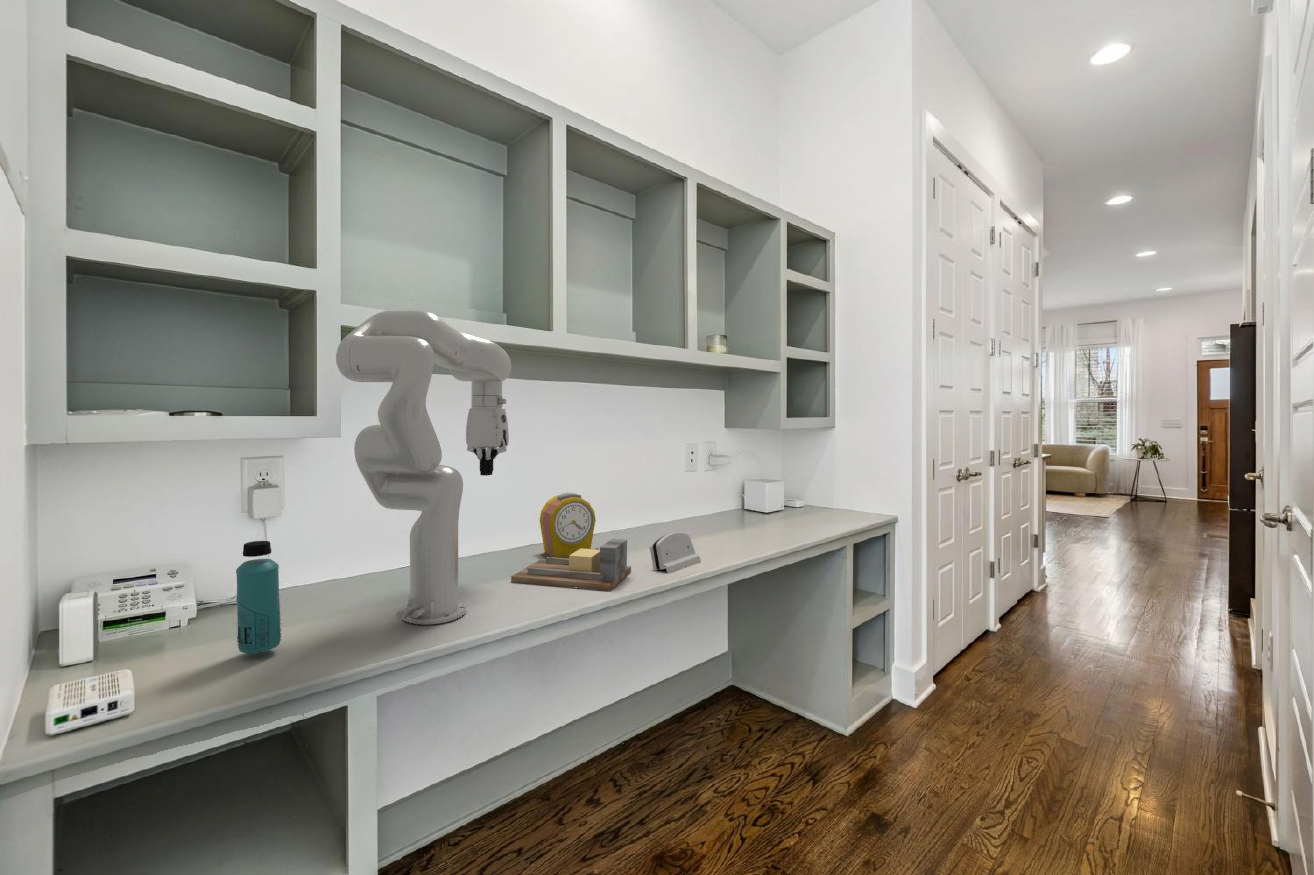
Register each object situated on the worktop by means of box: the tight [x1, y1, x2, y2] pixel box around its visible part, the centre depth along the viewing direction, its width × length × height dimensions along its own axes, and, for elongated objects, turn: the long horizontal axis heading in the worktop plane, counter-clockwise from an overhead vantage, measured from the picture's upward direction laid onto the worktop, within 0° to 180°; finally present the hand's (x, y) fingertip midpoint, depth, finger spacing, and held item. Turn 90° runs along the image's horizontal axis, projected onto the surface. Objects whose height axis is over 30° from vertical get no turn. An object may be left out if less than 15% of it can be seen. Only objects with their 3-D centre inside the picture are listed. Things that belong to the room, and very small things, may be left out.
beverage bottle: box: [235, 540, 282, 654], centre depth 104 cm, size 6×7×20 cm
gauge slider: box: [568, 547, 600, 573], centre depth 157 cm, size 13×6×5 cm, turn 166°
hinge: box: [649, 532, 702, 574], centre depth 168 cm, size 17×5×10 cm, turn 143°
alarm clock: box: [539, 492, 597, 558], centre depth 180 cm, size 15×8×18 cm, turn 123°
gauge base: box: [510, 538, 632, 592], centre depth 155 cm, size 18×26×10 cm
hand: (486, 474), depth 153 cm, fingers closed
